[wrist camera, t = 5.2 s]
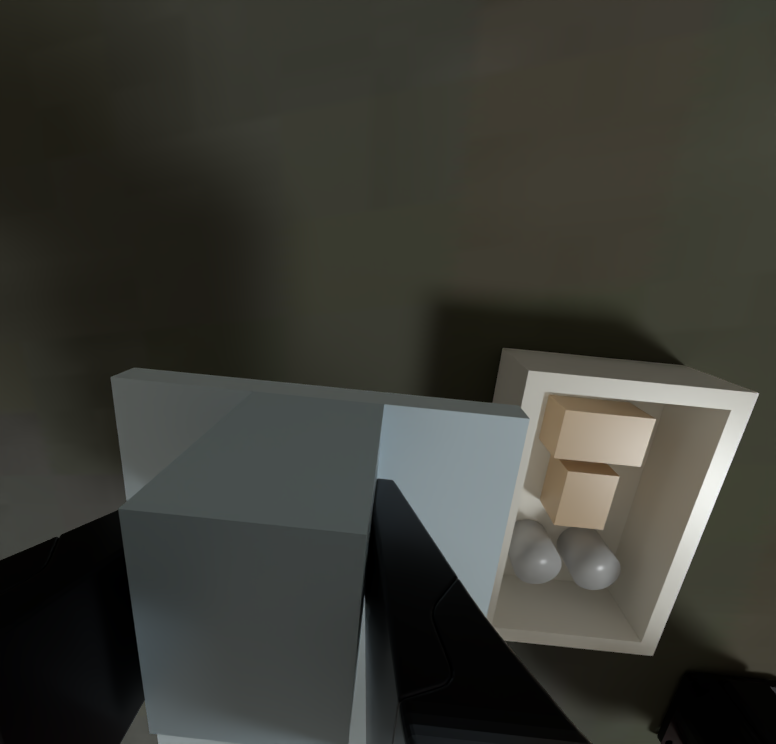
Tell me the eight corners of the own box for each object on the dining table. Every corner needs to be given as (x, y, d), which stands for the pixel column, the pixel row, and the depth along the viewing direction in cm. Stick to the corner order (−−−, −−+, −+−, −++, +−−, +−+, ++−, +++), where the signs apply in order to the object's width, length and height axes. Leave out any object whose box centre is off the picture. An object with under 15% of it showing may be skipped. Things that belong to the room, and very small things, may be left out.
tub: (610, 588, 22) (652, 656, 19) (460, 573, 23) (472, 637, 19) (684, 365, 18) (759, 393, 15) (502, 347, 18) (528, 370, 15)
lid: (437, 754, 14) (459, 1079, 9) (192, 727, 15) (55, 1031, 9) (508, 391, 10) (644, 563, 4) (159, 357, 10) (-151, 480, 5)
